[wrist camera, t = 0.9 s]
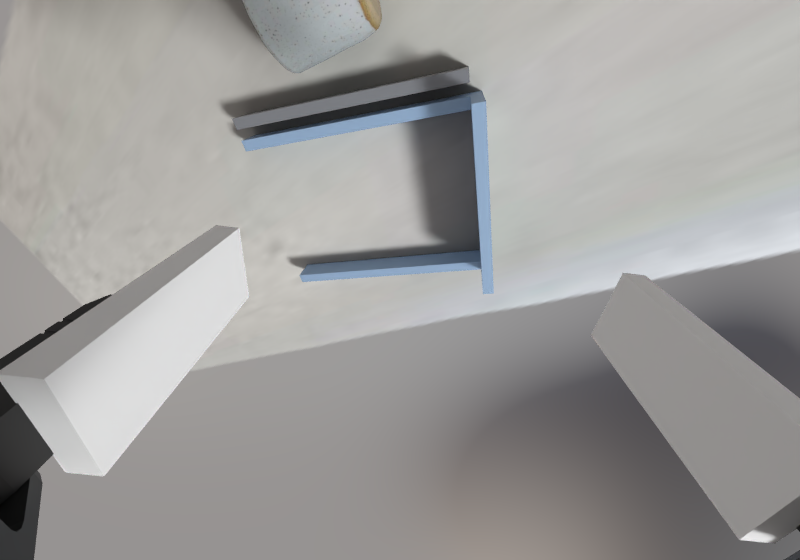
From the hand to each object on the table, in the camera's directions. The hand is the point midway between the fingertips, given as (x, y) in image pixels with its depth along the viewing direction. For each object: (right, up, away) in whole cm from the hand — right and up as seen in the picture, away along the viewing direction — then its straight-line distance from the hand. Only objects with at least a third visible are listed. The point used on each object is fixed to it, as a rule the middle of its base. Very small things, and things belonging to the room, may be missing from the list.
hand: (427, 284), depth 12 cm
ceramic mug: (-7, +24, +15) cm, 29 cm away
